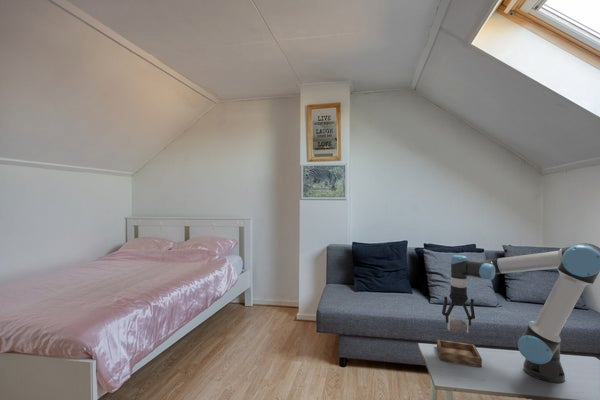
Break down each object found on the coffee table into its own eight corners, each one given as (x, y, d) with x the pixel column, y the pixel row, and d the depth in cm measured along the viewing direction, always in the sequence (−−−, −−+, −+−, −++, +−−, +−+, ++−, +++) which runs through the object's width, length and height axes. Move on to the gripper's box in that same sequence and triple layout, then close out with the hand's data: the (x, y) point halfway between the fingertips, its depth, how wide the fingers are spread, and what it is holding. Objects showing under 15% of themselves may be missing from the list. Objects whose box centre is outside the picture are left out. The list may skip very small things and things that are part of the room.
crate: (474, 352, 165) (474, 344, 166) (481, 367, 150) (481, 358, 150) (436, 346, 171) (437, 339, 171) (440, 360, 156) (440, 352, 156)
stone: (442, 326, 166) (443, 315, 166) (457, 326, 167) (457, 315, 167) (453, 334, 157) (453, 322, 157) (469, 334, 157) (469, 322, 157)
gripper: (479, 286, 162) (478, 330, 161) (436, 282, 168) (435, 325, 168) (483, 289, 154) (482, 336, 154) (437, 285, 161) (436, 330, 160)
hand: (457, 330), depth 161 cm, fingers closed on stone, 8 cm apart
